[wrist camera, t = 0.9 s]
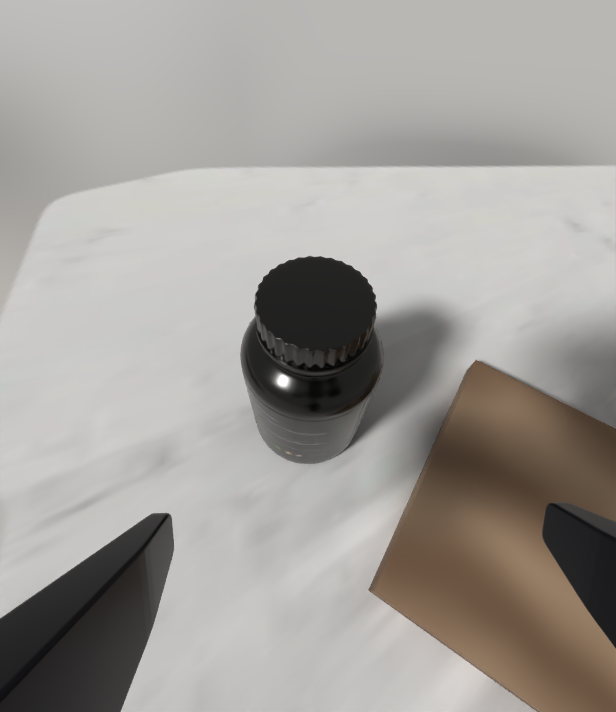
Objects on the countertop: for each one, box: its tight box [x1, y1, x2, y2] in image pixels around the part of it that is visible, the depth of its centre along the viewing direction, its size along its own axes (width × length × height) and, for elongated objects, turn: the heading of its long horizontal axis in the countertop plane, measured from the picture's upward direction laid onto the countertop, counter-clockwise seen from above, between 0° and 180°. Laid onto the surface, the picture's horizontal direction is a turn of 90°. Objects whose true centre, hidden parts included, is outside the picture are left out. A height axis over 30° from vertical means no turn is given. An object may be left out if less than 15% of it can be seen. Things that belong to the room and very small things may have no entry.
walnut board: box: [369, 360, 616, 712], centre depth 20 cm, size 16×14×2 cm
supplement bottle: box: [240, 256, 383, 464], centre depth 19 cm, size 7×7×12 cm
